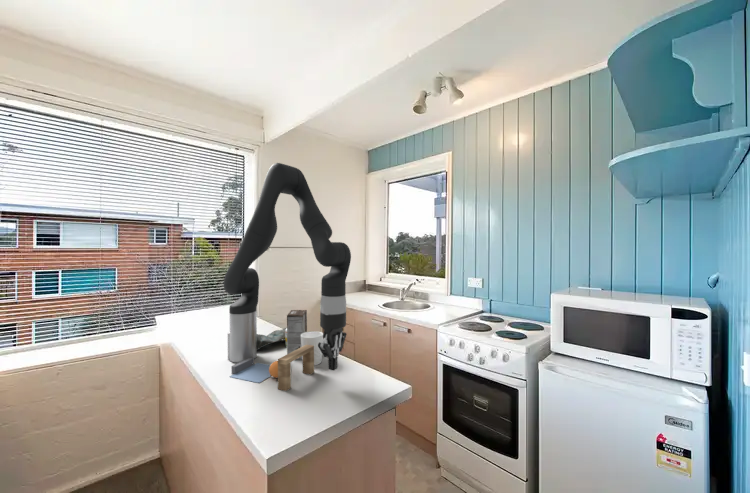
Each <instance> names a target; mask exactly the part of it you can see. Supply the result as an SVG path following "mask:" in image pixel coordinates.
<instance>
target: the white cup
mask: <svg viewBox="0 0 750 493" xmlns="http://www.w3.org/2000/svg"><path fill="white" fill-rule="evenodd" d="M323 333H324V332H323V331H314V330H312V331H311V330H310V331H307V332H305V333H302V334H301V347H302V346H304V345H313V346H314V366H317V365H320V364H321V363H322V360H323V358H322V357H323V354H322V352H321V351H320V349H319V347H318V343H319V342H320V343H322V341H323ZM301 359H302V363H303V356H302V358H301Z"/></svg>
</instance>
